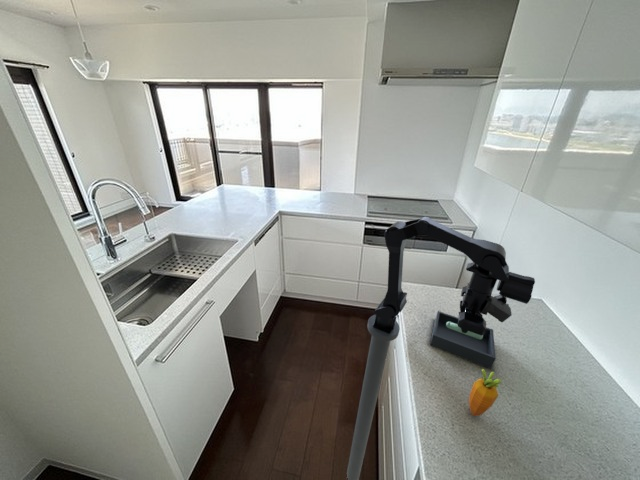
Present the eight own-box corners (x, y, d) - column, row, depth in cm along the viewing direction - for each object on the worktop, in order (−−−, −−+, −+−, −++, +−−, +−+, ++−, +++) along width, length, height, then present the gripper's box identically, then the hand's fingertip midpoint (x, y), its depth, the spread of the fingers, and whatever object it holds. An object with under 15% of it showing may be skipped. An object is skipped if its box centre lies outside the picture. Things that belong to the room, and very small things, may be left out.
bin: (429, 345, 85) (433, 334, 83) (434, 320, 96) (437, 310, 94) (490, 369, 78) (495, 358, 76) (488, 339, 89) (493, 329, 87)
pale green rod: (444, 328, 79) (446, 323, 78) (445, 324, 80) (447, 319, 79) (481, 341, 74) (484, 336, 73) (481, 337, 76) (483, 332, 75)
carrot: (458, 405, 67) (475, 366, 61) (475, 404, 68) (495, 365, 61) (469, 425, 63) (490, 385, 56) (488, 424, 63) (510, 384, 57)
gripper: (519, 319, 59) (496, 365, 66) (511, 280, 74) (493, 321, 81) (466, 302, 64) (449, 346, 71) (468, 269, 79) (455, 308, 86)
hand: (463, 330), depth 77 cm, fingers closed on pale green rod, 2 cm apart
